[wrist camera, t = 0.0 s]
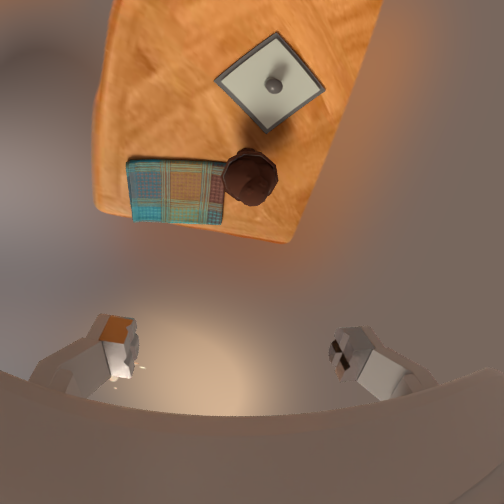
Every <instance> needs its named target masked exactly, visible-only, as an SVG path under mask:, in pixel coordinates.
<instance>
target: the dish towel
mask: <svg viewBox="0 0 504 504" xmlns="http://www.w3.org/2000/svg"><path fill="white" fill-rule="evenodd" d="M225 166H226V163H222V162H209V161H187V160H163V159H142V160H130V161H129V162H126V173H127V181H128V189H129V198H130V204H131V209H132V218H133V221H134V222H140V221H147V222H161V223H188V224H211V225H221V223H222V213H223V212H222V210H223V200H224V186H223V183H222V179H221V174H222V172H223V170H224V168H225Z"/></svg>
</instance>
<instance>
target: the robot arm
mask: <svg viewBox="0 0 504 504" xmlns="http://www.w3.org/2000/svg"><path fill="white" fill-rule="evenodd" d="M136 329H137V324H136V320H135V319H134V318H126V317H120V316H114V315H107V314H99V315H98V317H97V318H96V320H95V322H94V323H93V325H92V327H91V329H90V331H89V332H88V334H87V336H86V338H81V339H79V340H77V341H75V342H73V343H72V344H70V345H68V346H66V347H64V348H63V349H61V350H59V351H57V352H56V353H54V354H52V355H50V356H48V357H46V358H45V359H43V360H41V361H39V363H38V364H37V366H36V368H35V370H34V371H33V373H32V375H31V377H30V379H29V381H26V380H23V379H21V378H18V377H16V376H13V375H11V374H8V373H6V372H3V371H1V370H0V504H504V373H502V372H500V371H498V370H496V369H494V368H491V367H486V368H483V369H481V370H478V371H476V372H474V373H471V374H469V375H466V376H464V377H461V378H458V379H456V380H453V381H450V382H447V383H444V384H441V385H439V384H438V383H437V381H436V380H435V378H434V377H433V376H432V374H431V373H430V372H429V370H428V369H426V368H424V367H422V366H421V365H419V364H417V363H415V362H413V361H411V360H410V359H408V358H406V357H404V356H402V355H401V354H398V353H397V352H395V351H393V350H392V349H390V348H385V347H384V345H383V344H382V342H381V341H380V339H379V338H378V337H377V335H376V334H375V332H374V331H373V330H372V328H371V327H369V326H358V327H342V328H337V329H336V331H335V334H334V336H335V340H334V341H333V342H332V343H331V345H330V348H329V359H330V362H331V364H332V365H334V366H335V367H336V369H335V373H336V375H337V377H338V379H339V381H340V382H346V381H356V380H357V382H358V383H360V384H361V385H362V386H363V387H364V388H366V389H367V390H368V391H369V392H371V393H372V394H373V395H374V396H375V397H377V398H378V399H379V400H380V401H379V402H374V403H369V404H365V405H359V406H354V407H348V408H341V409H335V410H328V411H321V412H311V413H301V414H289V415H273V416H238V417H236V416H202V415H187V414H175V413H164V412H157V411H148V410H142V409H135V408H129V407H123V406H118V405H113V404H107V403H102V402H98V401H94V400H89V399H87V398H88V397H89V396H90V395H91V394H92V393H93V392H95V391H96V390H97V389H98V388H99V387H100V386H101V385H102V384H104V383H105V382H106V381H107V380H108V379H109V378H110V377H111V376H116V377H123V378H132V374H133V370H134V367H135V366H134V360H135V359H137V356H138V351H139V338H138V335H137V334H136V333H135V332H136Z"/></svg>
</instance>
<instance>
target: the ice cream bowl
mask: <svg viewBox="0 0 504 504" xmlns="http://www.w3.org/2000/svg"><path fill="white" fill-rule="evenodd" d="M221 179H222V183H223V186H224V190H225V192H227V193H228V194H229V195H231V196H232V197H233V198H235V199H236V200H237V201H242V202H243V203H244V204H245V205H248V206H258V205H260V204H261V203H262V202H264V201H265V199H266V198H267V196H269V195H270V194H271V193H272V191H273V189H274V188H275V186H276V184H277V182H278V175H277V169H276V165H275V164H274V163H273V162H272V161H271V160H270V159H269V158H267V157H266V156H265V155H264V154H263V153H262V152H256V151H255V150H253V149H248V148H244V149H242V150H241V151H239V152H238V153H237V155H235V156H233V157H231V158H230V159H228V161H227V163H226V166H225V168H224V170H223V172H222V174H221Z"/></svg>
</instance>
